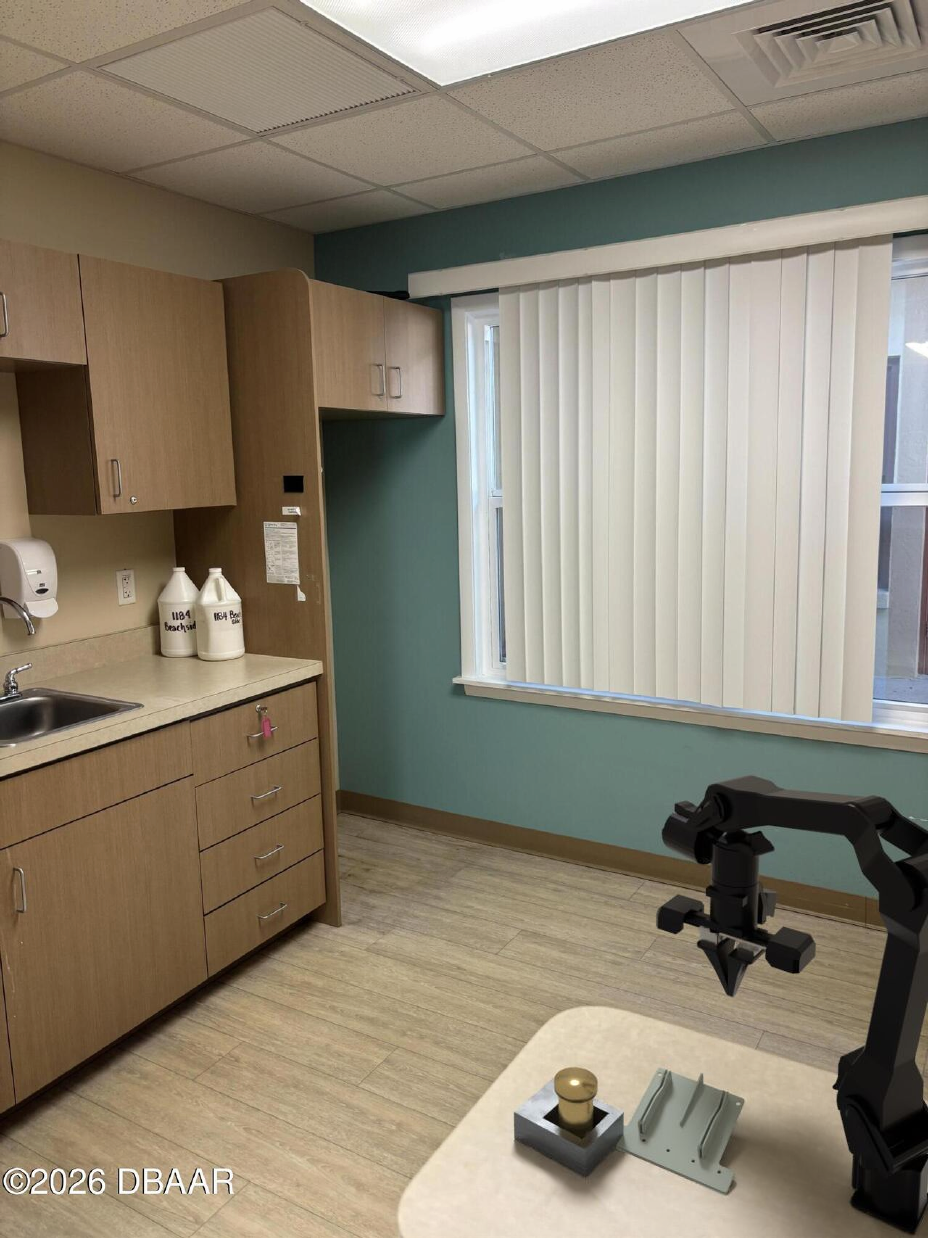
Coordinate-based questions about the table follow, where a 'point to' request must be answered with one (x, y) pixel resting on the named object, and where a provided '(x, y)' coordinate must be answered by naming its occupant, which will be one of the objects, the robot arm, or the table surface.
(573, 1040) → the table surface
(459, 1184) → the table surface
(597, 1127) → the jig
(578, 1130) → the knob
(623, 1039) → the table surface
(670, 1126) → the metal bracket
